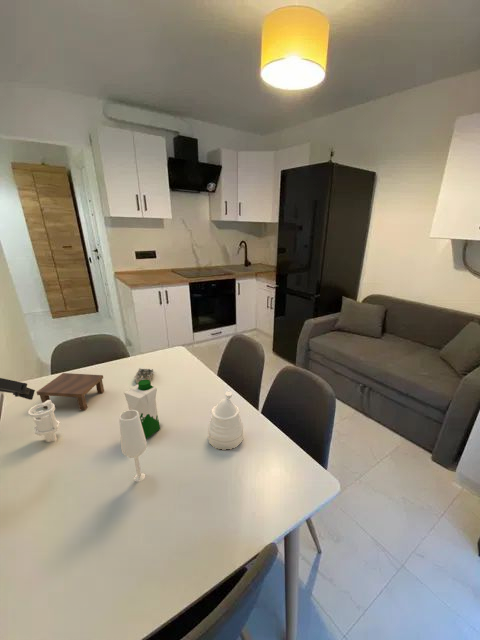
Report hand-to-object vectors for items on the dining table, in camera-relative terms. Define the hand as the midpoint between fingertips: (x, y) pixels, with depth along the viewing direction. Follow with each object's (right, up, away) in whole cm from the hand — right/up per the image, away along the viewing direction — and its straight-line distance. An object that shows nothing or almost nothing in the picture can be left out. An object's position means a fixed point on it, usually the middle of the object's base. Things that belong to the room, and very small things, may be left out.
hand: (6, 394), depth 81 cm
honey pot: (+58, -20, +26) cm, 67 cm away
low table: (-9, -9, +44) cm, 45 cm away
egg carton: (+14, -2, +62) cm, 63 cm away
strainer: (-2, -20, +20) cm, 28 cm away
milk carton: (+28, -18, +27) cm, 43 cm away
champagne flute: (+35, -27, +7) cm, 45 cm away
